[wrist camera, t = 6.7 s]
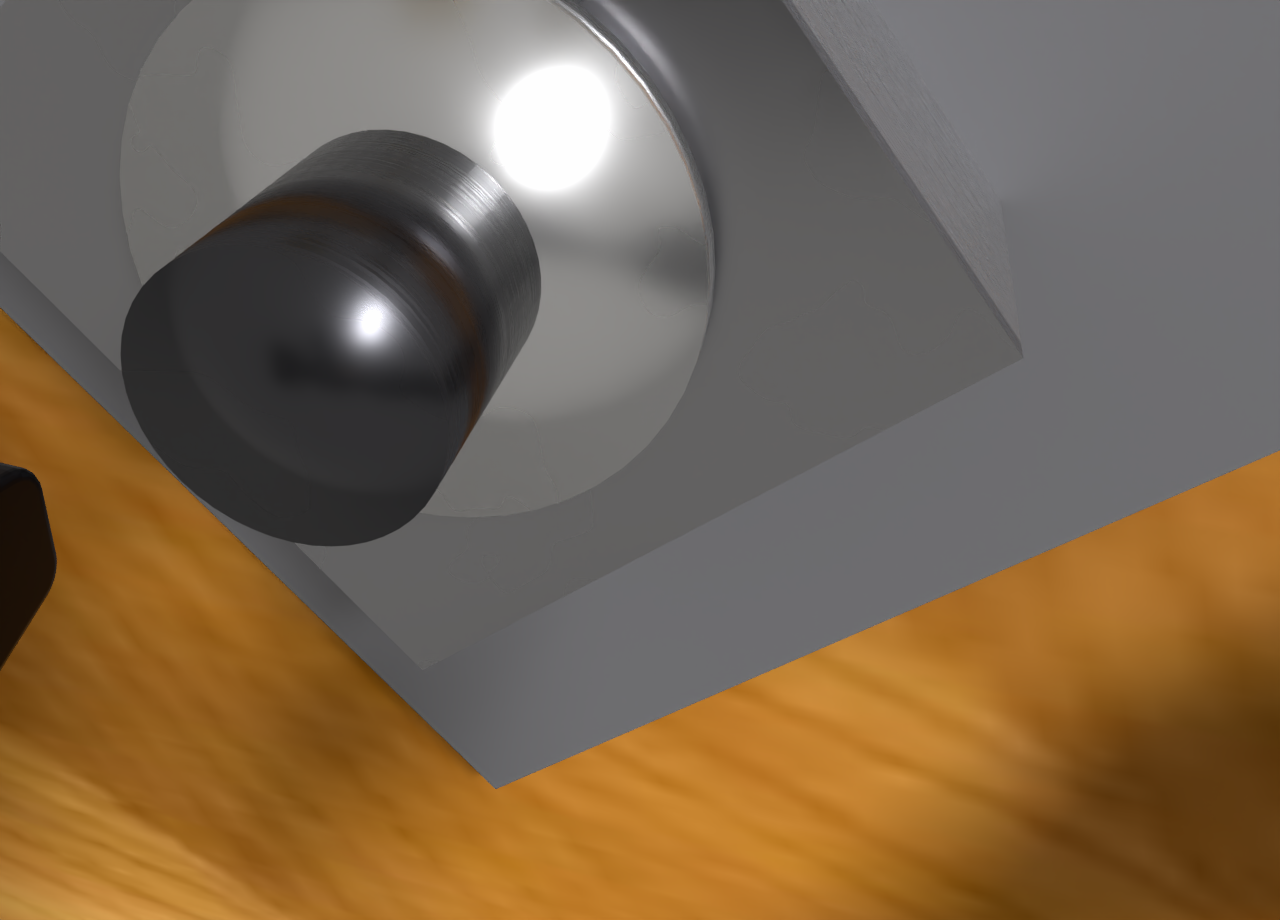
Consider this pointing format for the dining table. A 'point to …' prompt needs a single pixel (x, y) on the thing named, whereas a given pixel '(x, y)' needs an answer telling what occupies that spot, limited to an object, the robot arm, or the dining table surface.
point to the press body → (742, 296)
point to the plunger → (404, 259)
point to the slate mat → (949, 430)
